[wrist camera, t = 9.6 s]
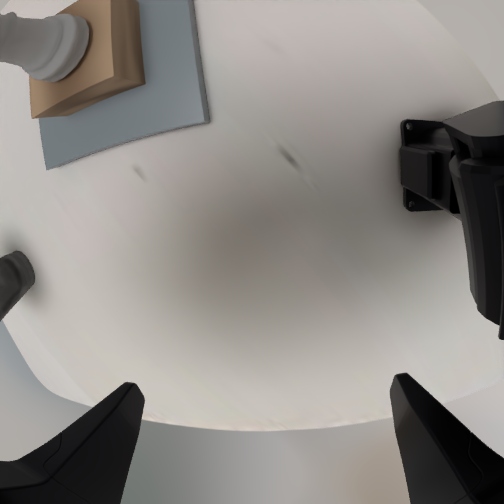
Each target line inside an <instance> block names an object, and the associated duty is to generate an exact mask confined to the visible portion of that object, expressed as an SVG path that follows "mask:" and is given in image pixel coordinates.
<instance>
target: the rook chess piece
mask: <svg viewBox="0 0 504 504" xmlns="http://www.w3.org/2000/svg"><path fill="white" fill-rule="evenodd" d="M88 41H89V28H88V25H87V22H86V20H85V19H83V18H82V17H80V16H73V15H71V14H70V13H69V14H58V15H55V16H51V17H46V18H44V19H30V18H21V17H17V15H16V14H15V13H14V12H10V13H7V14H6V15H1V14H0V62H6V63H10V64H14V65H18V66H20V67H22V69H23V70H24V71H25V72H27V73H28V74H29V75H30V76H31V77H32V78H33V79H35V80H43V81H45V82H55V81H58V80H60V79H62V78H64V77H65V76H66V75H67V74H69V73H70V72H71V71H72V70H73V69H74V68H75V67H76V66H77V65H78V63H79V62H80V60H81V59H82V57H83V56H84V54H85V51H86V49H87V46H88Z"/></svg>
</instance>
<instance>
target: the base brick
mask: <svg viewBox="0 0 504 504" xmlns="http://www.w3.org/2000/svg"><path fill="white" fill-rule="evenodd" d="M69 13H70V14H71V15H73V16H80V17H82V18H83V19H85V20H86V22H87V25H88V28H89V41H88V46H87V49H86V51H85V54H84V56H83V57H82V59H81V60H80V62H79V63H78V65H77V66H76V67H75V68H74V69H73V70H72V71H71V72H70V73H69V74H67V75H66V76H65V77H64V78H62V79H60V80H58V81H55V82H45V81H43V80H35V79H33V78H32V77H31V76H30V75H29V84H30V104H31V116H32V119H34V118H45V117H59V116H69V115H71V114H73V113H75V112H77V111H79V110H82V109H84V108H86V107H88V106H90V105H93V104H95V103H97V102H100V101H102V100H104V99H107V98H109V97H112V96H114V95H117V94H120V93H122V92H125V91H128V90H130V89H133V88H136V87H139V86H142V85H145V84H146V82H145V73H144V64H143V54H142V43H141V31H140V15H139V2H137V1H136V0H78V1H77V2H75V3H73V4H72V5H70V6H68V7H67V8H65V9H64V10H62V11H61V12H59V13H58V14H69ZM58 14H56V15H58Z"/></svg>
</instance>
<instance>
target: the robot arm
mask: <svg viewBox="0 0 504 504" xmlns="http://www.w3.org/2000/svg"><path fill="white" fill-rule="evenodd" d="M407 123H408V124H409V125H410V129H409V130H408V129H407V127H406V125H407ZM401 133H402V148H401V149H400V158H401V184H402V185H403V186H404V207H405V208H406V209H407V210H408V211H411V212H413V211H431V210H445V211H447V212H448V213H450V214H452V215H453V216H455V217H456V218H458V219H460V220H461V221H462V225H463V231H464V237H465V243H466V251H467V258H468V268H469V278H470V290H471V293H472V295H473V298H474V300H475V302H476V304H477V309H478V311H479V312H480V313H481V314H482V315H483V316H484V317H485V318H486V319H488V320H490V321H492V322H493V323H495V324H497V325H500V327H499V335H498V337H499V339H500V340H504V101H495V102H491V103H489V104H486V105H483V106H481V107H478V108H475V109H473V110H470V111H467V112H465V113H462V114H460V115H457V116H455V117H452V118H450V119H447V120H445V121H443V122H437V121H425V120H410V119H407V120H403V121H402V123H401ZM411 201H412V203H413V204H412V206H410V207H409V203H410V202H411ZM390 399H391V405H392V412H393V419H394V427H395V433H396V438H397V441H398V446H399V449H400V454H401V458H402V463H403V467H404V472H405V477H406V482H407V486H408V492H409V498H410V503H411V504H504V458H503V457H502V456H500V455H499V454H497V453H496V452H495V451H493V450H492V449H490V448H489V447H488V446H487V445H486V444H484V443H483V442H482V441H481V440H480V439H479V438H478V437H477V436H476V435H474V434H473V433H472V432H471V431H470V430H469V429H468V428H467V427H466V426H465V425H463V424H462V423H461V422H460V421H459V420H458V419H457V418H456V417H455V416H454V415H453V414H452V413H451V412H449V411H448V410H447V409H446V408H445V407H444V406H443V405H442V404H441V403H440V402H439V401H438V400H436V399H435V398H434V397H433V396H432V395H431V394H430V393H429V392H428V391H427V390H425V389H424V388H423V387H422V386H421V385H420V384H419V383H418V382H417V381H416V380H414V379H413V378H412V377H411V376H410V375H409V374H408V373H400V374H396V375H395V376H394V379H393V382H392V385H391V388H390ZM144 403H145V398H144V395H143V394H142V392H141V391H140V389H139V387H138V386H137V384H135V383H131V382H125V383H123V384H122V385H121V386H120V387H118V388H117V389H116V390H115V391H113V392H112V393H111V394H110V395H108V396H107V397H106V398H104V399H103V400H102V401H101V402H99V403H98V404H97V405H96V406H94V407H93V408H92V409H91V410H89V411H88V412H87V413H85V414H84V415H83V416H82V417H80V418H79V419H77V420H76V421H75V422H74V423H72V424H71V425H70V426H68V427H67V428H66V429H65V430H63V431H62V432H60V433H59V434H58V435H56V436H55V437H54V438H52V439H51V440H50V441H48V442H47V443H45V444H44V445H42V446H40V447H39V448H37V449H35V450H34V451H32V452H31V453H29V454H27V455H25V456H23V457H22V458H20V459H18V460H15V461H0V504H120V503H121V499H122V495H123V491H124V487H125V483H126V479H127V475H128V471H129V467H130V464H131V460H132V457H133V453H134V450H135V446H136V443H137V438H138V435H139V430H140V425H141V419H142V414H143V408H144Z"/></svg>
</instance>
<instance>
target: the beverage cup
mask: <svg viewBox="0 0 504 504" xmlns="http://www.w3.org/2000/svg"><path fill="white" fill-rule="evenodd" d="M34 281H35V275H34V271H33V268H32V265H31V264H30V262H29V260H28V259H27V257H26V256H25V255H24V254H23V253H21V252H19V251H15V252H13V253H11V254H9V255H5V256H3V257H2V258H0V321H1V320H2V319H3V318H4V316H5V315H6V314H7V313H8V312H9V311H10V310H11V309H12V307H13V306H14V305H15V304H16V303H17V302H18V301H19V300H20V299H21V298H22V296H23V295H24V294H25V293H26V292H27V290H28V289H29V288H30V287H31V286H32V285H33V284H34Z"/></svg>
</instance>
